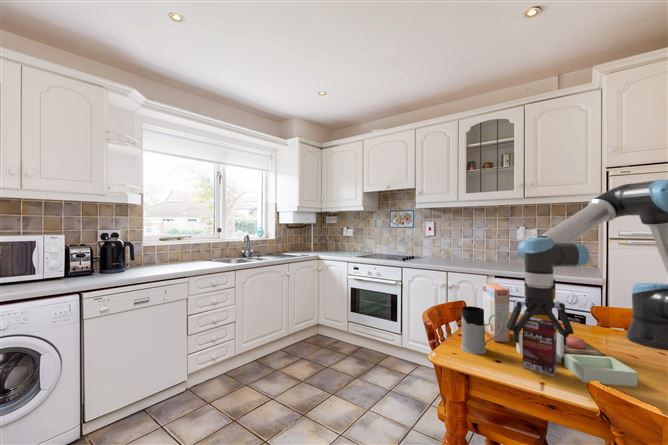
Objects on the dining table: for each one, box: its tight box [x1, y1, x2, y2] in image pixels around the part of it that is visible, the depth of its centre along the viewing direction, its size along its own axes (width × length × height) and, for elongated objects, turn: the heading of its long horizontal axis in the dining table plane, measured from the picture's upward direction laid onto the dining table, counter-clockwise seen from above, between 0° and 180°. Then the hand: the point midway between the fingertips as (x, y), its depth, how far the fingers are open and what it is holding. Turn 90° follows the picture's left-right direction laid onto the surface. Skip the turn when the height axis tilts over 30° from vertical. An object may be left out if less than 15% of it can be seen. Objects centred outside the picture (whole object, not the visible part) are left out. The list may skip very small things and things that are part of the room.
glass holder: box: [460, 305, 503, 355], centre depth 114 cm, size 9×14×15 cm, turn 67°
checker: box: [562, 342, 606, 364], centre depth 106 cm, size 12×10×4 cm
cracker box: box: [482, 282, 510, 343], centre depth 128 cm, size 14×6×21 cm, turn 171°
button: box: [566, 336, 586, 350], centre depth 106 cm, size 5×5×3 cm
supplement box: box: [522, 318, 558, 377], centre depth 98 cm, size 9×5×16 cm, turn 45°
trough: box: [563, 354, 638, 387], centre depth 95 cm, size 14×10×4 cm
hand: (539, 353), depth 98 cm, fingers open, 11 cm apart
